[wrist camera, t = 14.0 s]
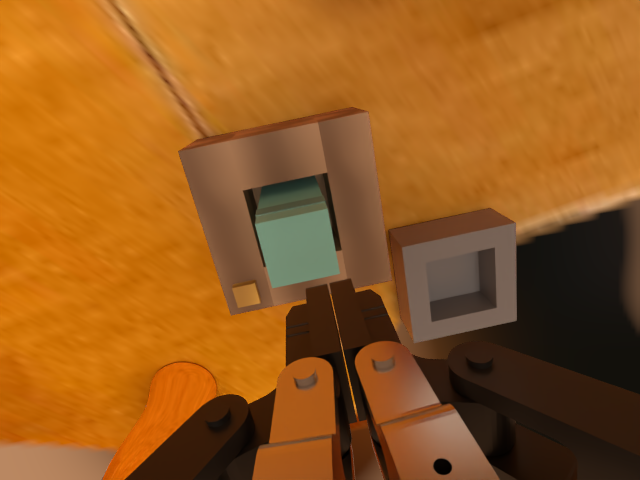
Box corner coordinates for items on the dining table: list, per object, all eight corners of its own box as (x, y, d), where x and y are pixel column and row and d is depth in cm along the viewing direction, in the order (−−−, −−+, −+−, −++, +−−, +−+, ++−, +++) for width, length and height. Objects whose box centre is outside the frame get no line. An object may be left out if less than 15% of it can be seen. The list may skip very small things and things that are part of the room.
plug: (313, 171, 31) (328, 207, 21) (323, 220, 32) (340, 274, 23) (261, 182, 31) (253, 223, 21) (274, 231, 32) (271, 289, 23)
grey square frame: (490, 208, 34) (515, 222, 31) (493, 297, 38) (516, 320, 34) (388, 229, 34) (401, 247, 30) (400, 317, 37) (413, 343, 34)
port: (352, 107, 30) (370, 112, 24) (374, 249, 35) (394, 284, 29) (197, 139, 30) (175, 152, 24) (239, 278, 34) (230, 319, 28)
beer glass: (200, 347, 37) (151, 506, 23) (233, 400, 39) (208, 574, 25) (132, 373, 37) (42, 547, 23) (169, 425, 39) (108, 609, 26)
